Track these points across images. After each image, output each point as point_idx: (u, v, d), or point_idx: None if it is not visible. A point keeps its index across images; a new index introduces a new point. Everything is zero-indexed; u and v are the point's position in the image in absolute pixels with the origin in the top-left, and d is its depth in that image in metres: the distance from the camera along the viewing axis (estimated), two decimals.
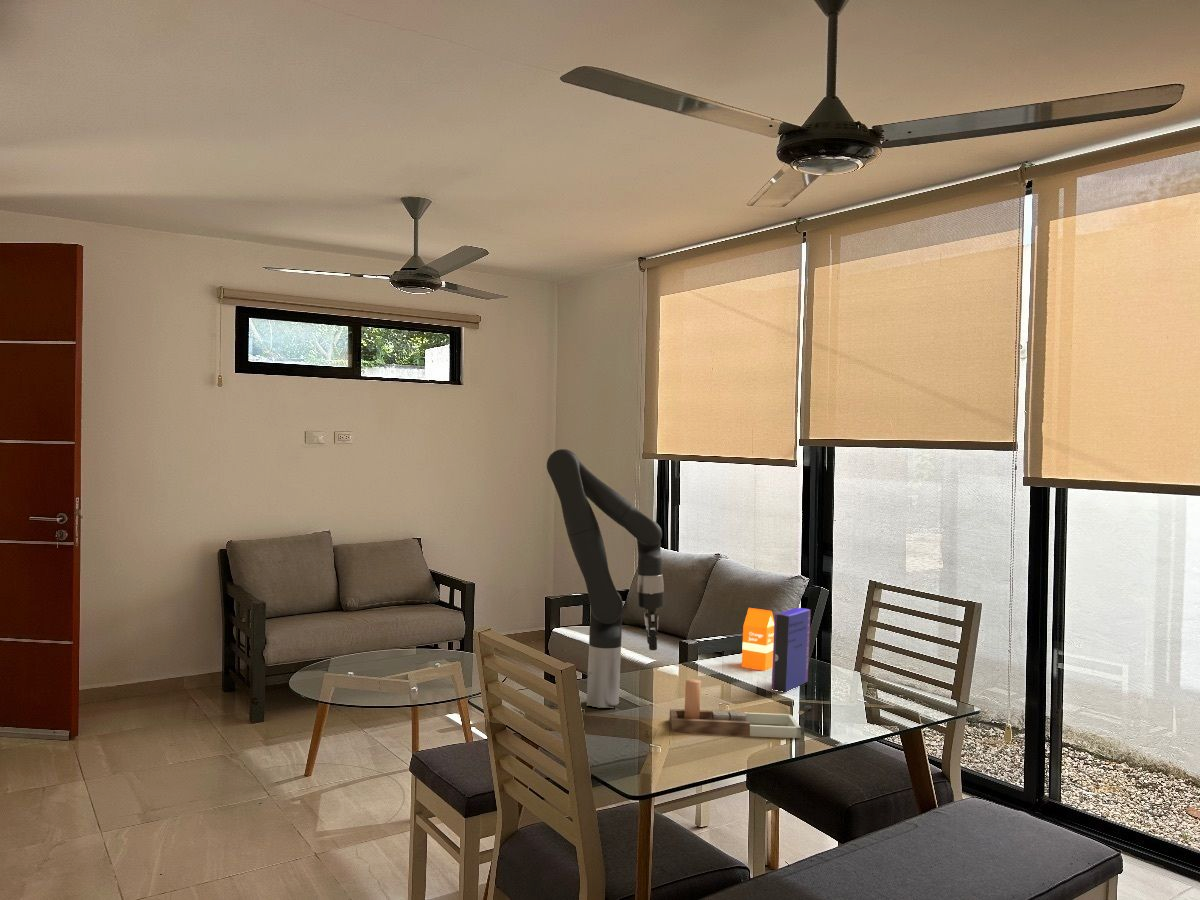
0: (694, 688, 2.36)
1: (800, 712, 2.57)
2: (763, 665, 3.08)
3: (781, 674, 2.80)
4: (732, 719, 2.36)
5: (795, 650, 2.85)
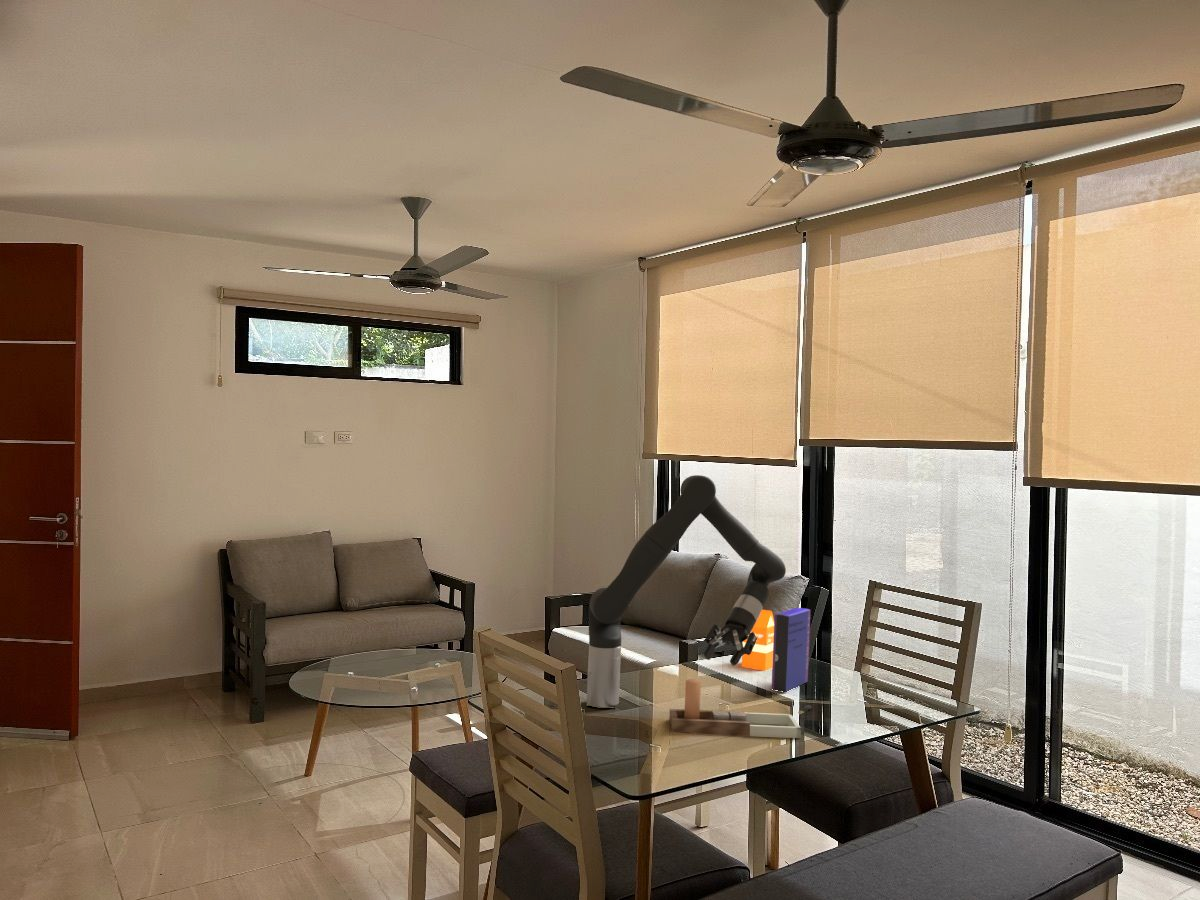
0: (694, 688, 2.36)
1: (800, 712, 2.57)
2: (763, 665, 3.08)
3: (781, 674, 2.80)
4: (732, 719, 2.36)
5: (795, 650, 2.85)
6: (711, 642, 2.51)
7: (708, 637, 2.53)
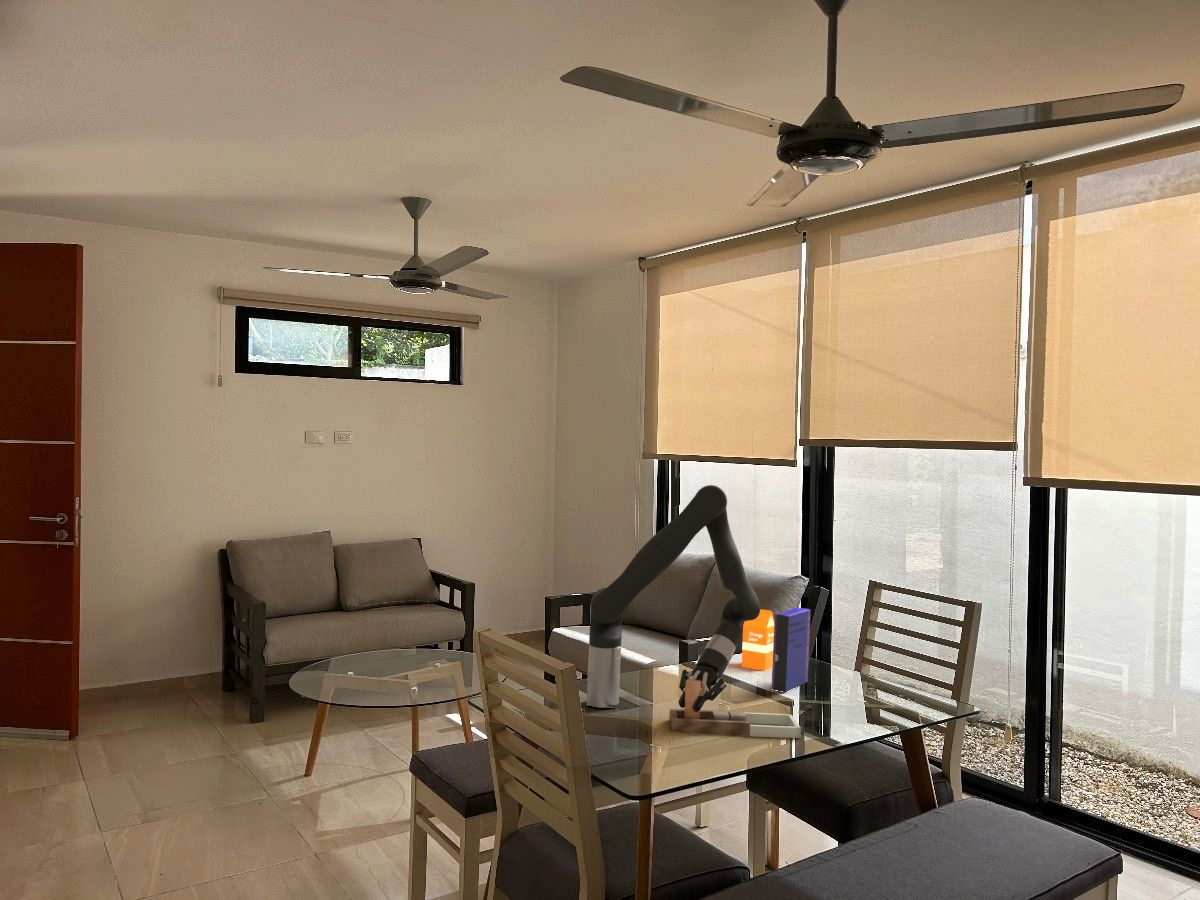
0: (694, 688, 2.36)
1: (800, 712, 2.58)
2: (763, 665, 3.08)
3: (781, 674, 2.80)
4: (732, 719, 2.36)
5: (795, 650, 2.85)
6: None
7: (682, 683, 2.42)
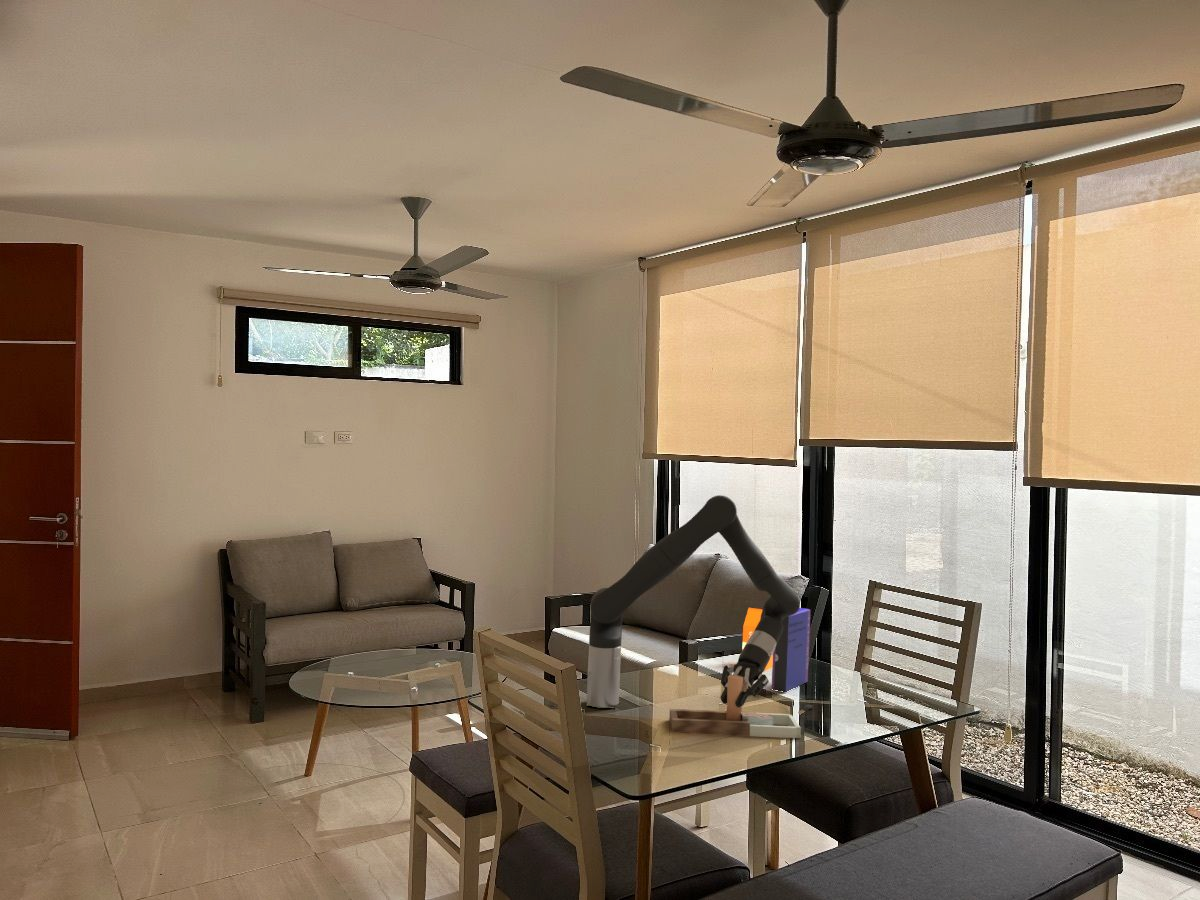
0: (736, 684, 2.36)
1: (801, 711, 2.58)
2: None
3: (781, 674, 2.80)
4: (759, 722, 2.36)
5: (795, 650, 2.85)
6: None
7: (723, 679, 2.42)
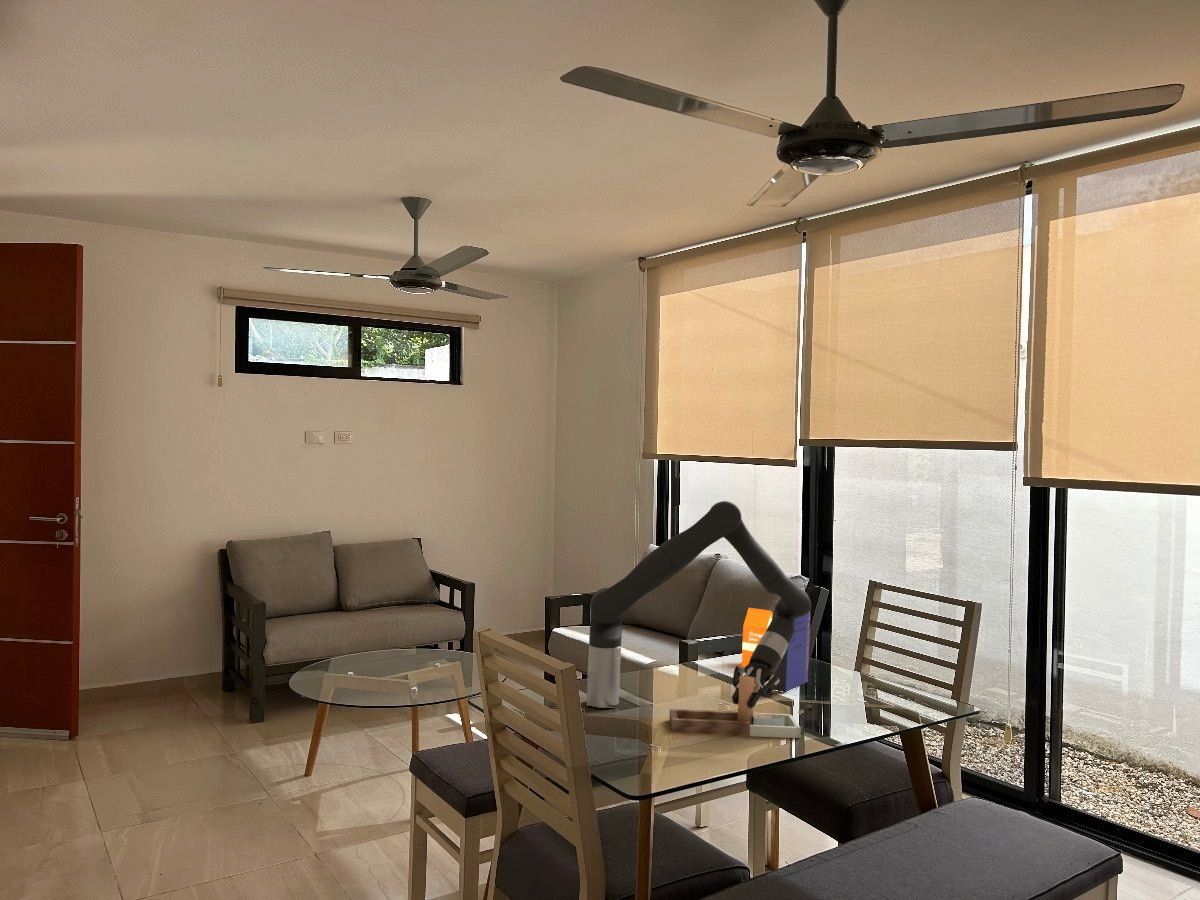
0: (748, 685, 2.36)
1: (801, 711, 2.58)
2: None
3: (781, 674, 2.80)
4: (770, 722, 2.36)
5: (795, 650, 2.85)
6: None
7: (735, 680, 2.42)
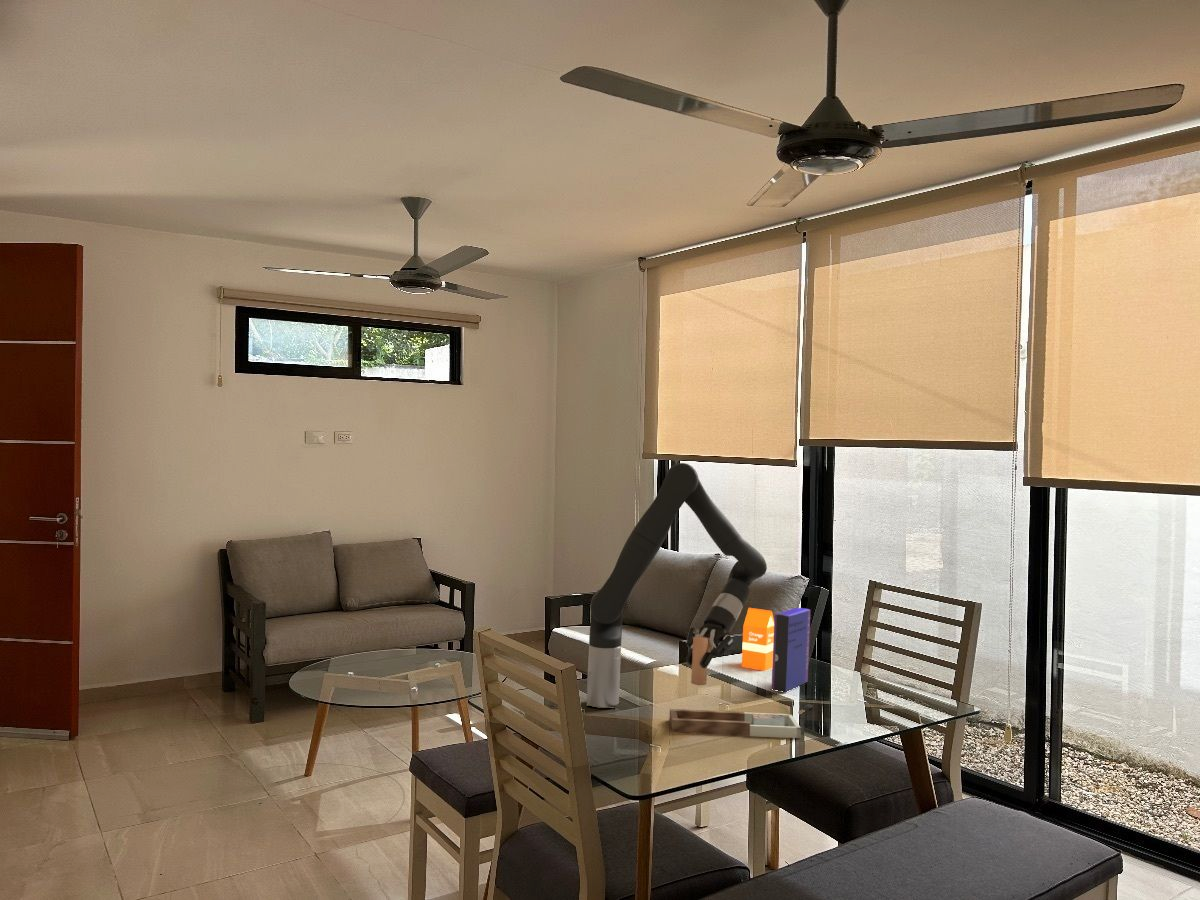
0: (701, 645, 2.36)
1: (801, 711, 2.58)
2: (763, 665, 3.08)
3: (781, 674, 2.80)
4: (770, 722, 2.36)
5: (795, 650, 2.85)
6: None
7: (689, 641, 2.42)
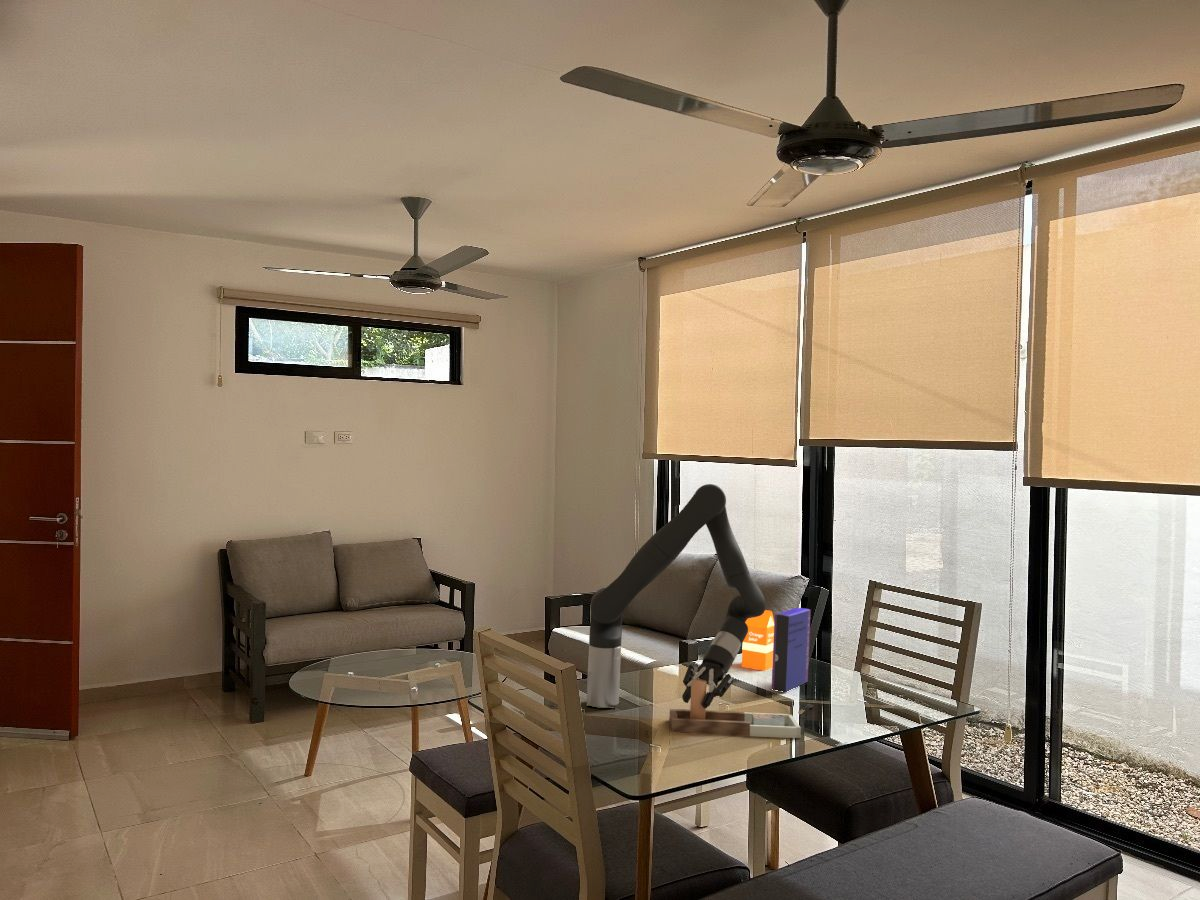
0: (700, 688, 2.36)
1: (801, 711, 2.58)
2: (763, 665, 3.08)
3: (781, 674, 2.80)
4: (770, 722, 2.36)
5: (795, 650, 2.85)
6: (689, 684, 2.41)
7: (686, 678, 2.43)
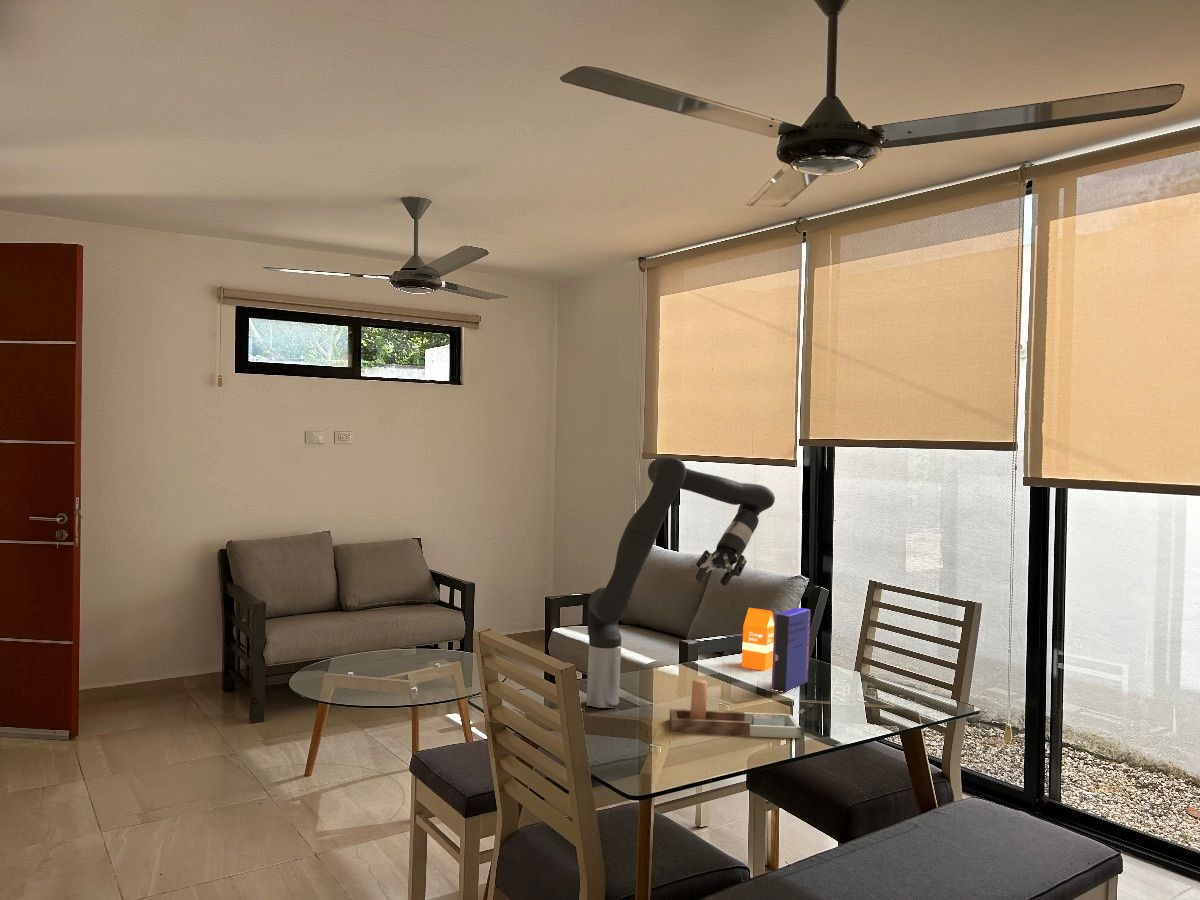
0: (701, 689, 2.36)
1: (802, 710, 2.59)
2: (763, 665, 3.08)
3: (781, 674, 2.80)
4: (770, 722, 2.36)
5: (795, 650, 2.85)
6: (702, 566, 2.61)
7: (699, 561, 2.63)
